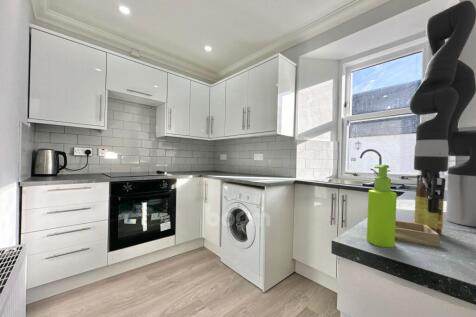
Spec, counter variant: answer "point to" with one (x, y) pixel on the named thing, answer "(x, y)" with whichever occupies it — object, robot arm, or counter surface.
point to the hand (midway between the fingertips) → (428, 209)
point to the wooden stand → (416, 233)
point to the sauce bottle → (422, 211)
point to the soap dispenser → (381, 211)
